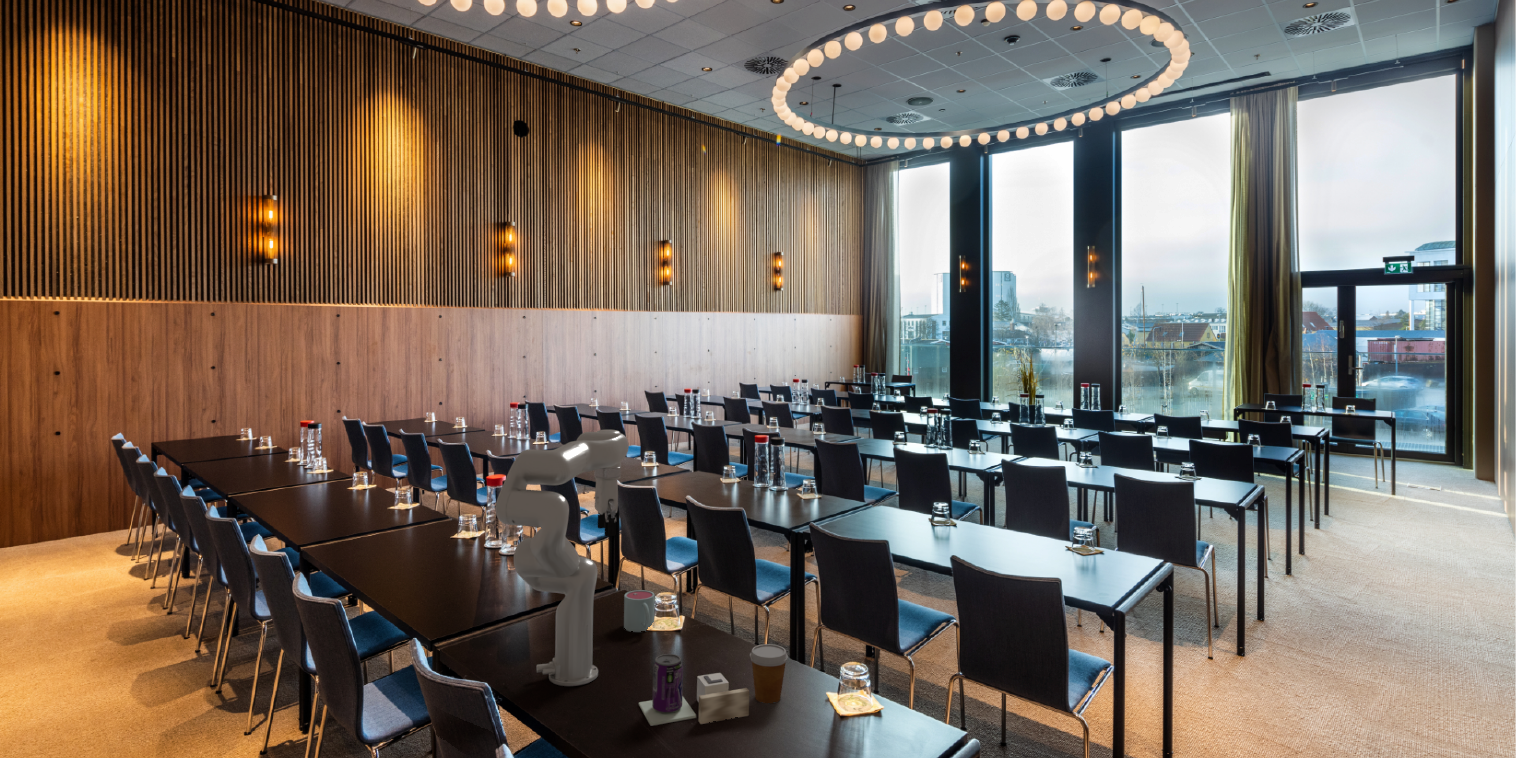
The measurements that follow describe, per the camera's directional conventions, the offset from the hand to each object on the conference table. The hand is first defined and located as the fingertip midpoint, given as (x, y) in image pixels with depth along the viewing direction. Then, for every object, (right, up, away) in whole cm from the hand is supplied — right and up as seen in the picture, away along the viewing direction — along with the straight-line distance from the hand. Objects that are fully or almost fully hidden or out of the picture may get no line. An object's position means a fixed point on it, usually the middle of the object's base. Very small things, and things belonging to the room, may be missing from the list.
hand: (606, 531), depth 221 cm
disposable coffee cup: (+46, -36, -30) cm, 66 cm away
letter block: (+33, -35, -33) cm, 59 cm away
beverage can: (+22, -35, -38) cm, 56 cm away
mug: (+8, -33, +15) cm, 37 cm away
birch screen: (+36, -36, -41) cm, 65 cm away
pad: (+22, -35, -38) cm, 56 cm away
